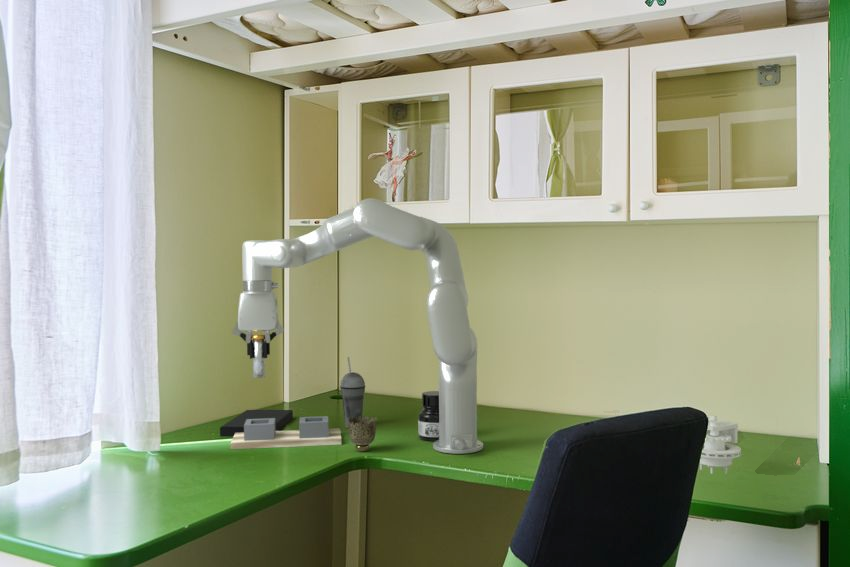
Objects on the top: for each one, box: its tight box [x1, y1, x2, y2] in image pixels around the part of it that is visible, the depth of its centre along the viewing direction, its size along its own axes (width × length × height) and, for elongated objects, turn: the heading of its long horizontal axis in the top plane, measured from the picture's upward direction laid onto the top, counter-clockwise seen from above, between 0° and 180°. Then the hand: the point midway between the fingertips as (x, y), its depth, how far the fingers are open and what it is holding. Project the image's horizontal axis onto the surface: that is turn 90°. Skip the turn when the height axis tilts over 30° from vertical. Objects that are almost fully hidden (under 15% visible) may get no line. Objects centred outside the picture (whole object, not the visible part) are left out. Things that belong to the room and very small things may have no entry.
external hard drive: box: [219, 409, 294, 438], centre depth 220 cm, size 14×23×3 cm, turn 175°
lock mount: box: [298, 415, 329, 438], centre depth 203 cm, size 8×8×4 cm
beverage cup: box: [339, 356, 366, 429], centre depth 218 cm, size 7×7×20 cm
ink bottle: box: [417, 390, 439, 442], centre depth 205 cm, size 10×9×12 cm
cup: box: [347, 415, 378, 453], centre depth 192 cm, size 8×7×8 cm
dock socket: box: [244, 418, 275, 441], centre depth 201 cm, size 8×8×4 cm
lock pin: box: [251, 333, 266, 379], centre depth 201 cm, size 4×4×11 cm
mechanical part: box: [699, 415, 742, 475], centre depth 172 cm, size 11×12×12 cm
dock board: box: [229, 428, 342, 450], centre depth 202 cm, size 12×28×2 cm, turn 98°
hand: (258, 357), depth 201 cm, fingers closed on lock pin, 3 cm apart
